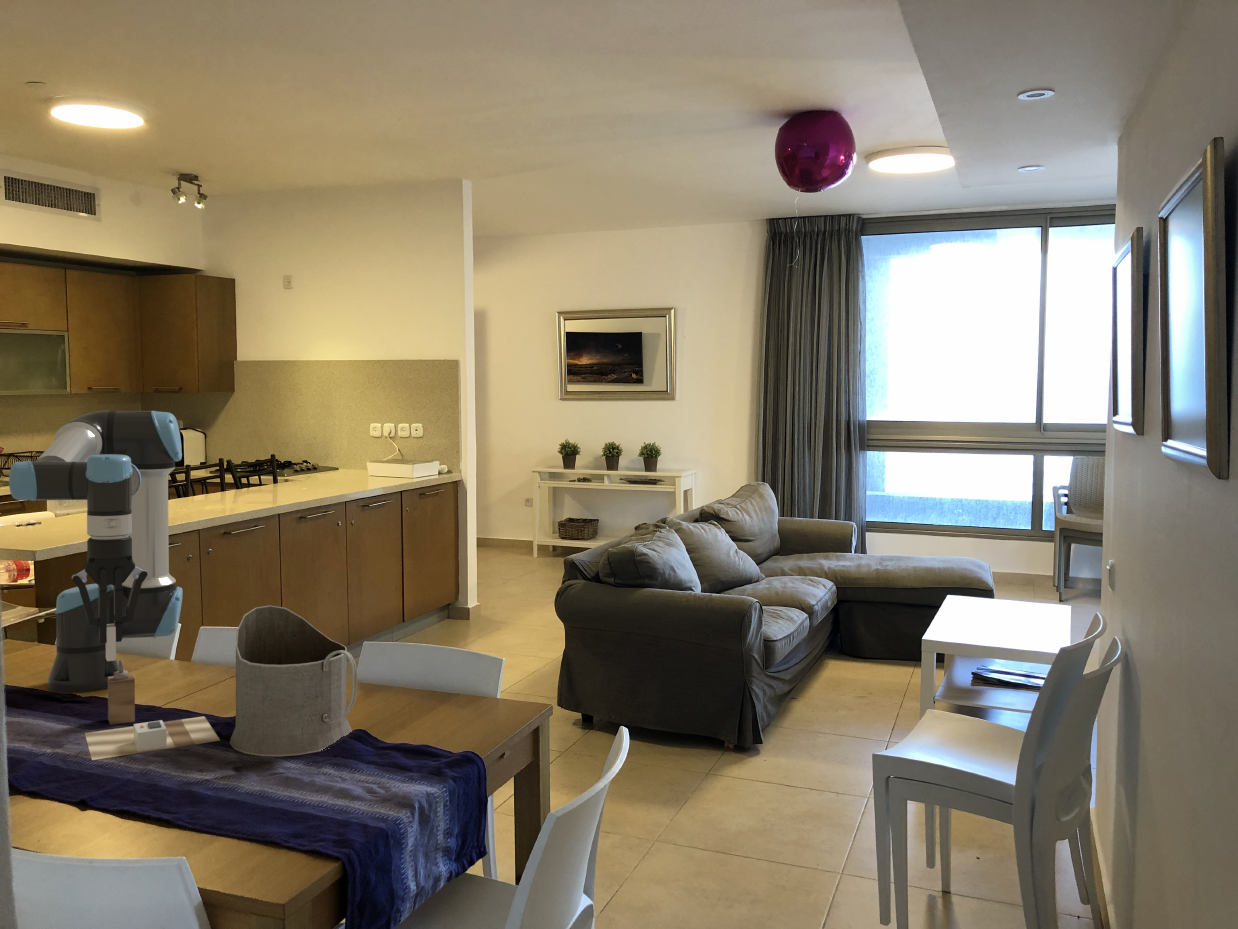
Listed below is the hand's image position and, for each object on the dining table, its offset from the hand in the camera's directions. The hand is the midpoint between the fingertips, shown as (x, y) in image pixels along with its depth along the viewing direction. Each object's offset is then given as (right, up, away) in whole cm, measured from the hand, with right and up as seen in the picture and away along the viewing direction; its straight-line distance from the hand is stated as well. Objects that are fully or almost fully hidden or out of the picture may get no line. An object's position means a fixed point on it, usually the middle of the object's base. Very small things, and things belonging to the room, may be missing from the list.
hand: (110, 659), depth 184 cm
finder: (+7, -17, +1) cm, 18 cm away
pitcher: (+34, -18, +9) cm, 40 cm away
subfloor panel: (+5, -18, +5) cm, 19 cm away
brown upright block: (-6, -17, +15) cm, 23 cm away
